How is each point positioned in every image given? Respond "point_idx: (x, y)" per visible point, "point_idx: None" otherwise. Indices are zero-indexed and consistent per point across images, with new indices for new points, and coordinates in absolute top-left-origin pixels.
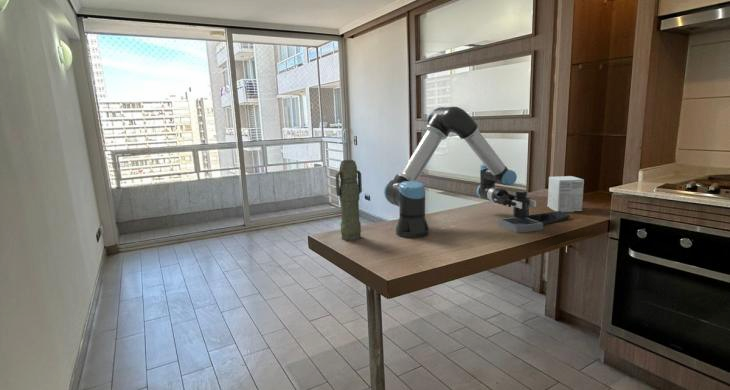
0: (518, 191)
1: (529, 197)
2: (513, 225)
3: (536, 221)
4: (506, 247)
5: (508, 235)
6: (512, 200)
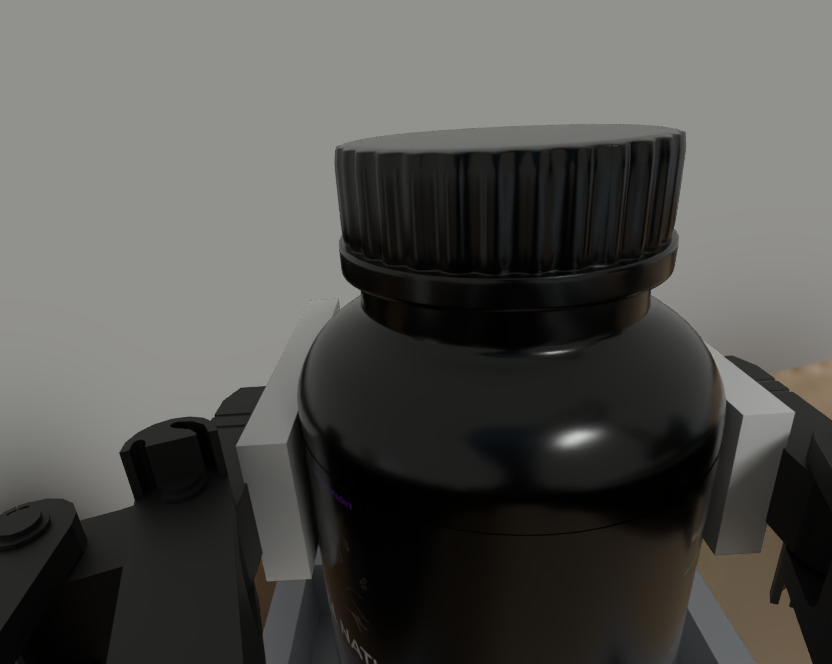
0: (604, 130)
1: (12, 518)
2: (697, 574)
3: (290, 628)
4: (800, 375)
5: (767, 542)
6: (768, 396)
